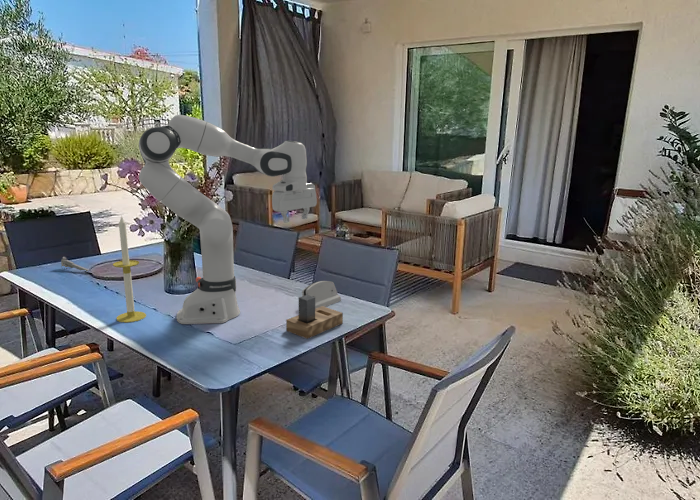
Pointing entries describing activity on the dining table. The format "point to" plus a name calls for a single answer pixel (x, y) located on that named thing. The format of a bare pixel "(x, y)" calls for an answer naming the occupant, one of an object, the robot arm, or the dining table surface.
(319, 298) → the grey piece
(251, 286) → the dining table surface
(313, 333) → the socket block
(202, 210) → the robot arm
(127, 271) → the candle
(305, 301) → the steel peg
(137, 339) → the dining table surface
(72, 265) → the caliper
